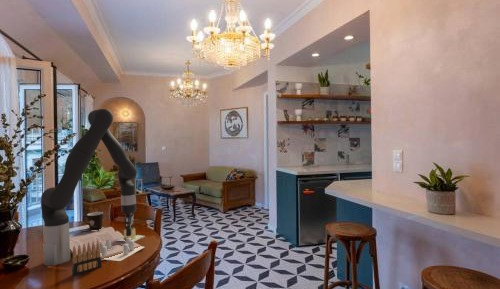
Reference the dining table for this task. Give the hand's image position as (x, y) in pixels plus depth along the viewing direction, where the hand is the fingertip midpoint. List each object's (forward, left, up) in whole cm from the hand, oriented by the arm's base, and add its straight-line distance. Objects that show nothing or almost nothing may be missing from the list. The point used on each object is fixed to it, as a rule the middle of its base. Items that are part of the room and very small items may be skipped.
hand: (129, 233), depth 166 cm
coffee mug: (+11, +34, -3) cm, 36 cm away
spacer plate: (-18, -7, -3) cm, 20 cm away
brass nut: (0, 0, -2) cm, 2 cm away
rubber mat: (0, 0, -3) cm, 3 cm away
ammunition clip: (-38, -9, -4) cm, 39 cm away
